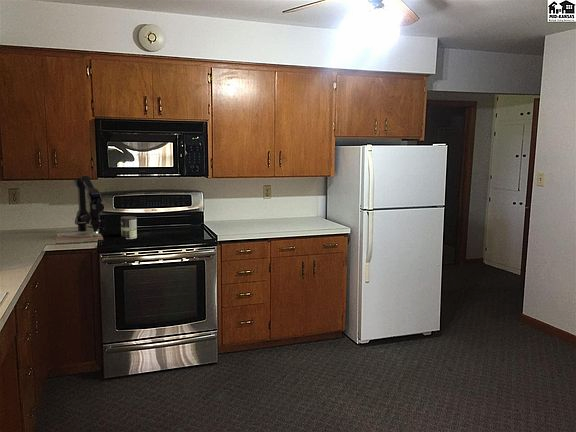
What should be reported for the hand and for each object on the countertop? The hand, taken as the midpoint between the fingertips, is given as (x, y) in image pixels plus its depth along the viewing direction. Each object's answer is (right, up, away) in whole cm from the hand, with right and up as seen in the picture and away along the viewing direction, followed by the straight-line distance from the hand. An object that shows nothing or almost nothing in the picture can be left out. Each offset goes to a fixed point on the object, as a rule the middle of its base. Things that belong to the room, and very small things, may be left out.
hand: (95, 232), depth 331 cm
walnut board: (-8, -4, -6) cm, 11 cm away
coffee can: (+21, -4, +5) cm, 22 cm away
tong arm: (-8, -2, -3) cm, 9 cm away
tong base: (-14, -2, -1) cm, 14 cm away
